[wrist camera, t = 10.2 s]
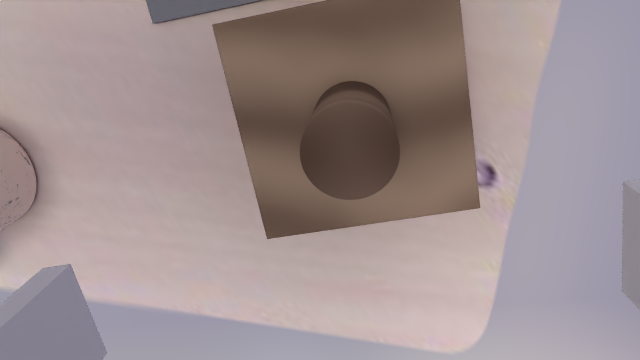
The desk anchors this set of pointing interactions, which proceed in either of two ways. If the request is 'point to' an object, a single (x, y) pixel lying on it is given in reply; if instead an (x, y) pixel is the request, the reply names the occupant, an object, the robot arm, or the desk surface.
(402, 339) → the desk surface
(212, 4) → the rubber mat
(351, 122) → the walnut lid
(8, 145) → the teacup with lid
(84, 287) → the desk surface
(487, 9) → the desk surface
